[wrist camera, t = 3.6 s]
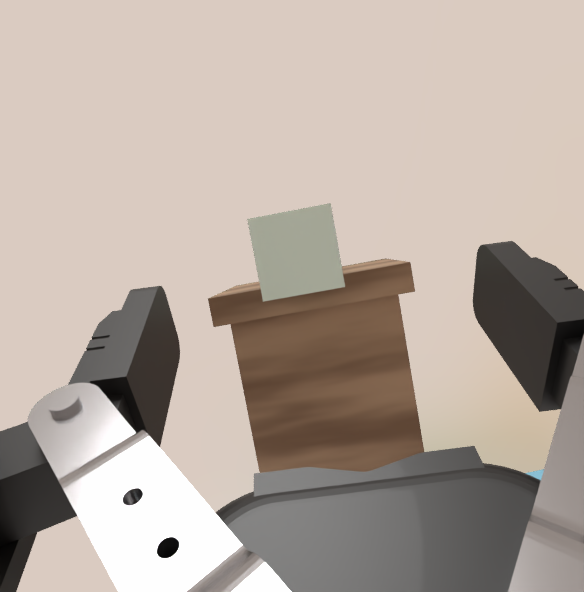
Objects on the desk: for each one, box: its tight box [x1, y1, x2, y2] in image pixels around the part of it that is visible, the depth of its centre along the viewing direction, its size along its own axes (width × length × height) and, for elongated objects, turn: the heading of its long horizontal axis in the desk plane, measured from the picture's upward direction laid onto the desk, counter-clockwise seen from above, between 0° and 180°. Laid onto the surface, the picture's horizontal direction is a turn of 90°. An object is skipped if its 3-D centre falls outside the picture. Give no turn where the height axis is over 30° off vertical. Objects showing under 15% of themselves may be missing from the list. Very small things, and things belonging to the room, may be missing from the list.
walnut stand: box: [208, 259, 424, 473], centre depth 41 cm, size 12×14×32 cm
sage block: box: [248, 204, 345, 302], centre depth 36 cm, size 26×4×4 cm, turn 177°
